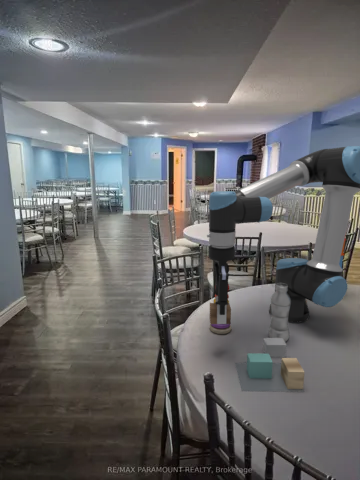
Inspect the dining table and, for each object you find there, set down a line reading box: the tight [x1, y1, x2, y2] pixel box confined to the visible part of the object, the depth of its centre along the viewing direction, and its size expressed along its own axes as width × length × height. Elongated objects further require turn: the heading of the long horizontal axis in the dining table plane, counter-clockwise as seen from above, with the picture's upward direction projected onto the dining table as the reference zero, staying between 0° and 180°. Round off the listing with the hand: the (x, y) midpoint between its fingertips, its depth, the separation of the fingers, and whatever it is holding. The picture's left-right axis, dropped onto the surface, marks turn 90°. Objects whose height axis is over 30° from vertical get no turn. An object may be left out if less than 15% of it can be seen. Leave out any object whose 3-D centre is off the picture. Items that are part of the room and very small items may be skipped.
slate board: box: [234, 362, 305, 393], centre depth 82 cm, size 16×12×1 cm
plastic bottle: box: [268, 283, 291, 343], centre depth 100 cm, size 6×7×20 cm
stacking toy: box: [209, 283, 232, 335], centre depth 107 cm, size 8×8×19 cm
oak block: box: [280, 357, 305, 390], centre depth 80 cm, size 6×4×5 cm, turn 178°
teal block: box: [246, 352, 274, 379], centre depth 83 cm, size 6×4×5 cm, turn 88°
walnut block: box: [209, 302, 232, 325], centre depth 91 cm, size 6×4×5 cm, turn 89°
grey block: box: [262, 337, 288, 358], centre depth 93 cm, size 6×4×5 cm, turn 88°
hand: (220, 319), depth 91 cm, fingers closed on walnut block, 4 cm apart
